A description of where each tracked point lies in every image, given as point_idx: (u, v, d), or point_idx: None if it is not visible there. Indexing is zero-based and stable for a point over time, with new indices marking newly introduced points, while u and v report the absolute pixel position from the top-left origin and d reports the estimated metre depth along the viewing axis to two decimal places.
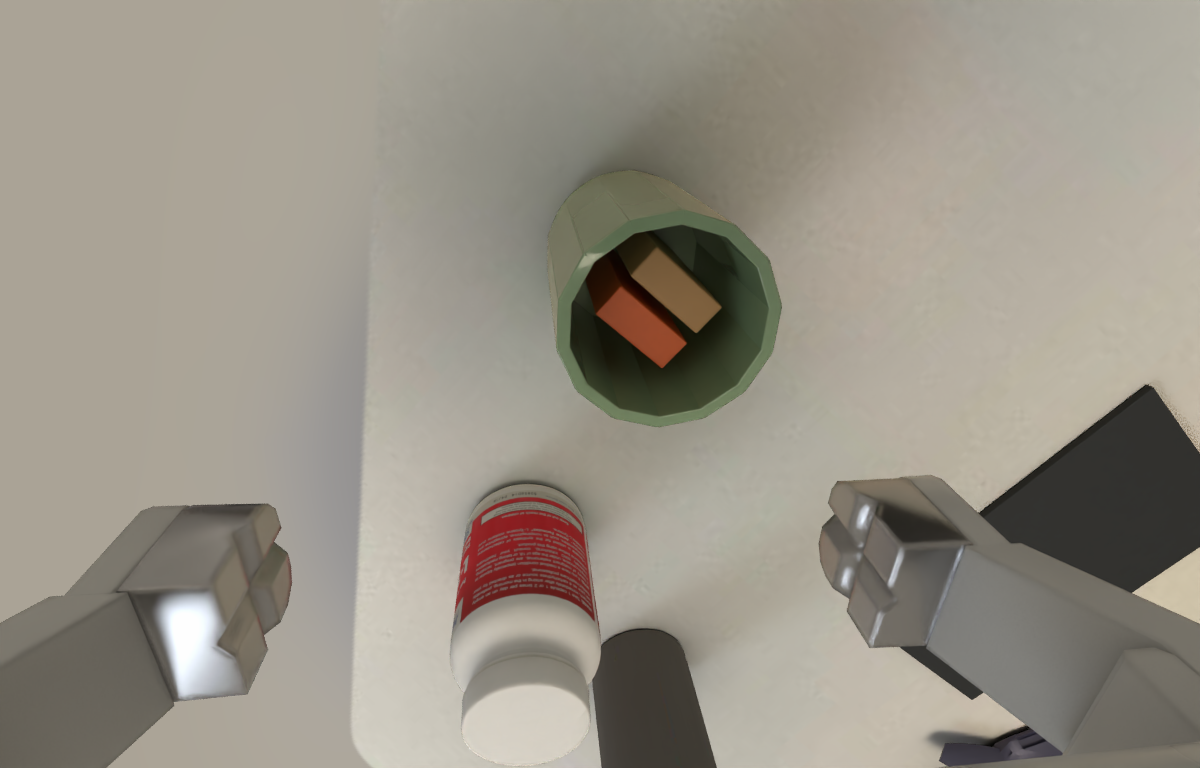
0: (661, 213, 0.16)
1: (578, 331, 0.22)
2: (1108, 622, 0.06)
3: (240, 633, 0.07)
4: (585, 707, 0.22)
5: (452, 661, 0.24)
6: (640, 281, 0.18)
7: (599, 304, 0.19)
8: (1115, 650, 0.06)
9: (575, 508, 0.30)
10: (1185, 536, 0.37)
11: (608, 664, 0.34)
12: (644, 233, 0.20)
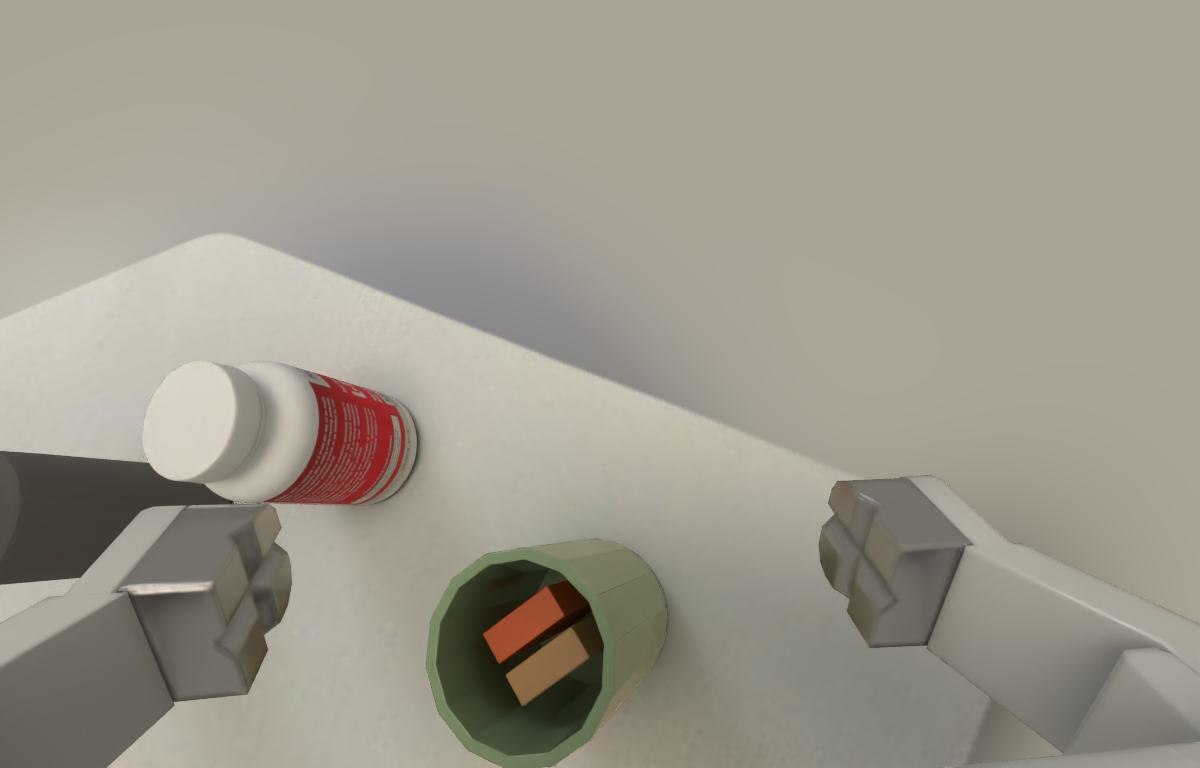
0: (614, 673, 0.19)
1: None
2: (1108, 622, 0.06)
3: (240, 633, 0.07)
4: (185, 479, 0.22)
5: (275, 365, 0.26)
6: (564, 634, 0.21)
7: (554, 590, 0.21)
8: (1115, 650, 0.06)
9: (375, 501, 0.32)
10: None
11: (205, 489, 0.34)
12: None
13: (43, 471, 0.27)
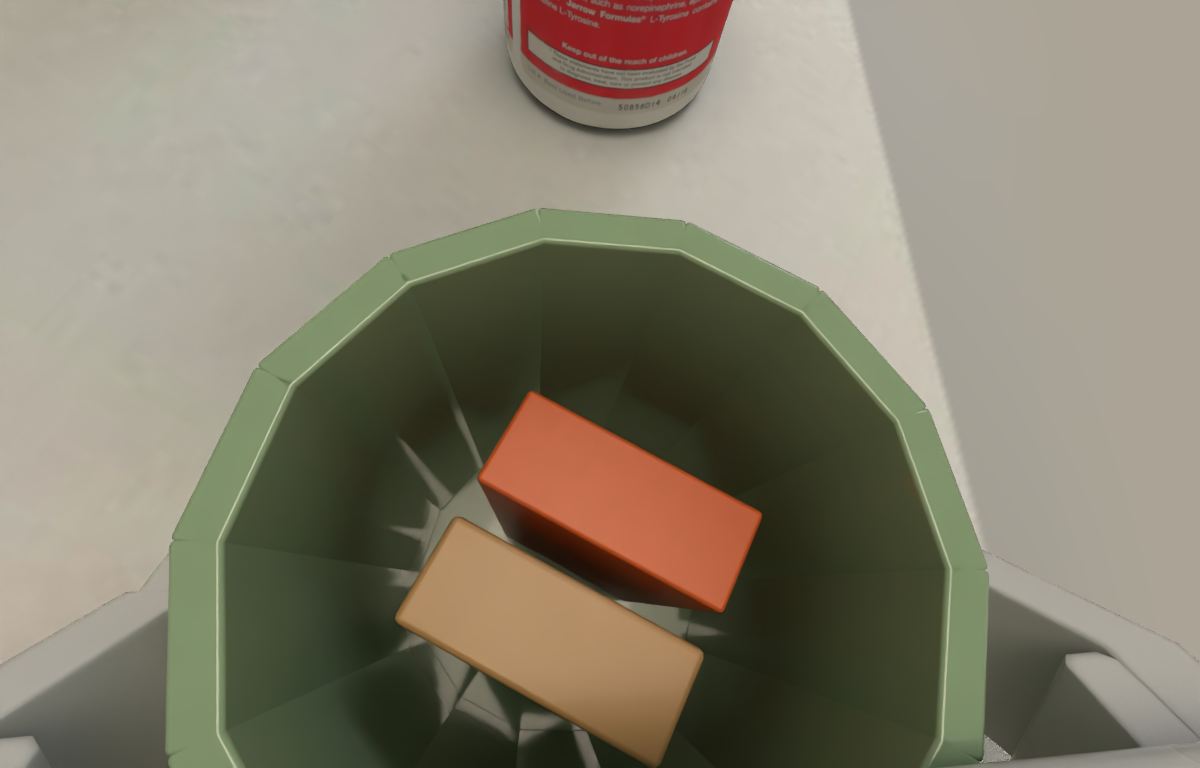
0: None
1: (682, 427, 0.10)
2: (1054, 626, 0.06)
3: None
4: None
5: None
6: (672, 642, 0.06)
7: None
8: (1061, 654, 0.06)
9: (538, 87, 0.17)
10: None
11: None
12: None
13: None
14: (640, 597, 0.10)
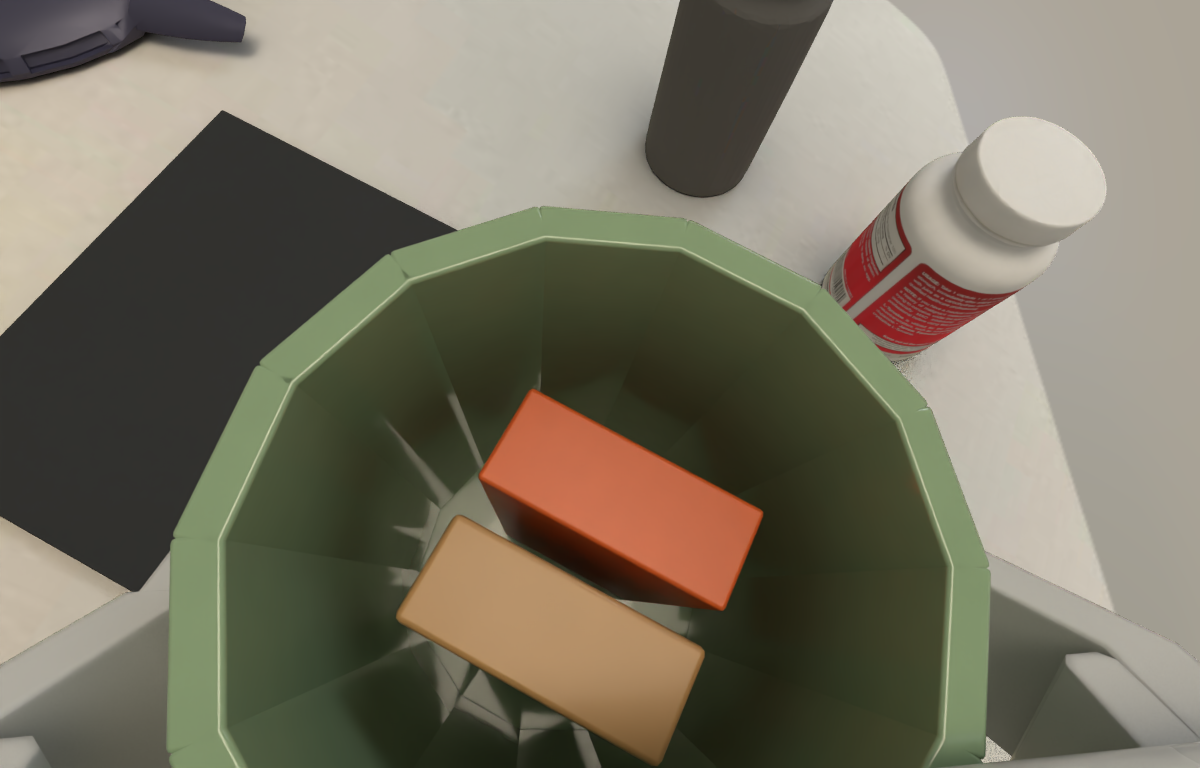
0: None
1: (683, 426, 0.10)
2: (1054, 626, 0.06)
3: None
4: (1000, 198, 0.20)
5: None
6: (673, 640, 0.06)
7: None
8: (1062, 655, 0.06)
9: None
10: None
11: (752, 158, 0.31)
12: None
13: None
14: (641, 596, 0.10)
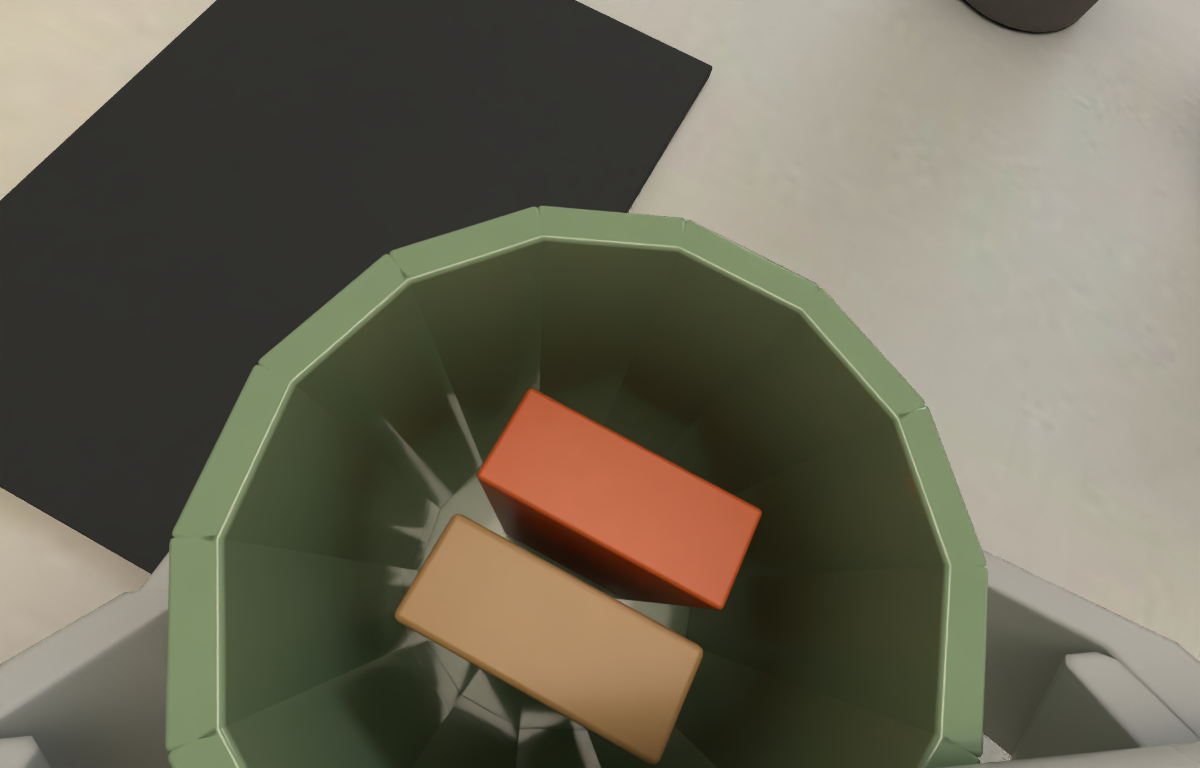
0: None
1: (682, 425, 0.10)
2: (1054, 626, 0.06)
3: None
4: None
5: None
6: (672, 639, 0.06)
7: None
8: (1060, 654, 0.06)
9: None
10: None
11: None
12: None
13: None
14: (640, 595, 0.10)
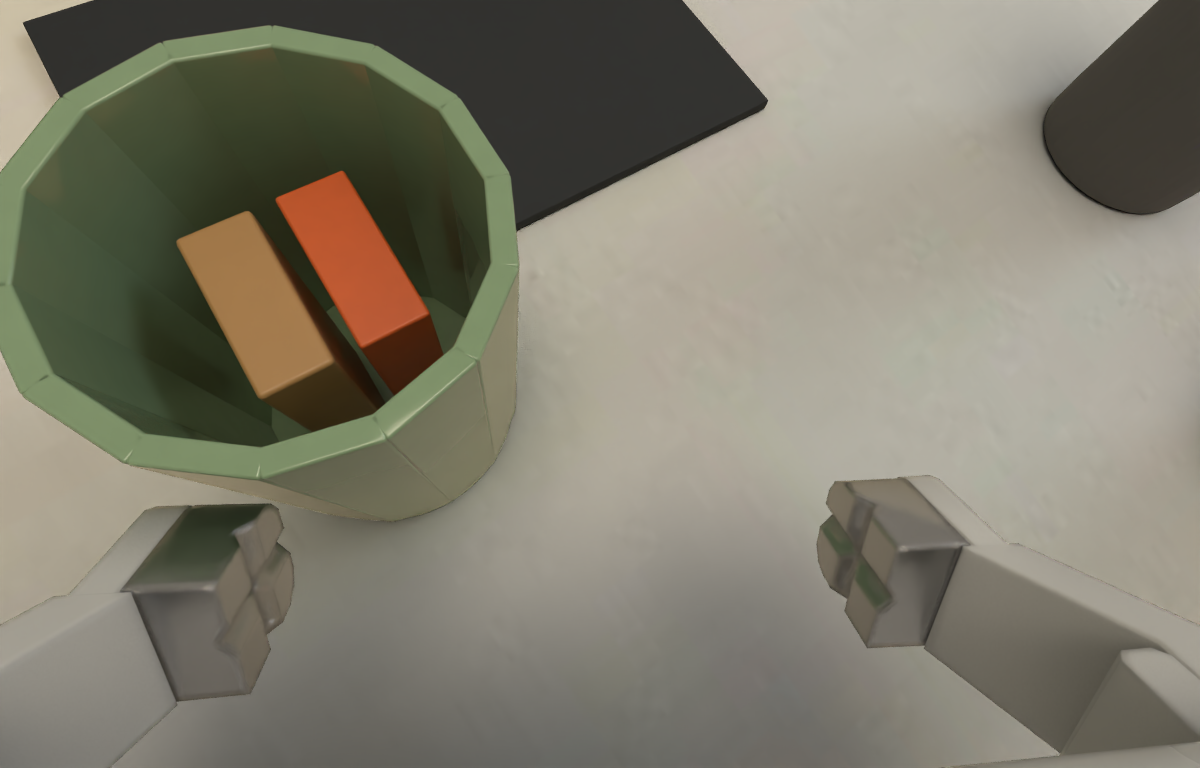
0: (182, 471, 0.07)
1: None
2: (1105, 622, 0.06)
3: (243, 633, 0.07)
4: None
5: None
6: (318, 344, 0.09)
7: (418, 328, 0.10)
8: (1113, 650, 0.06)
9: None
10: (146, 25, 0.20)
11: None
12: (304, 425, 0.11)
13: None
14: None
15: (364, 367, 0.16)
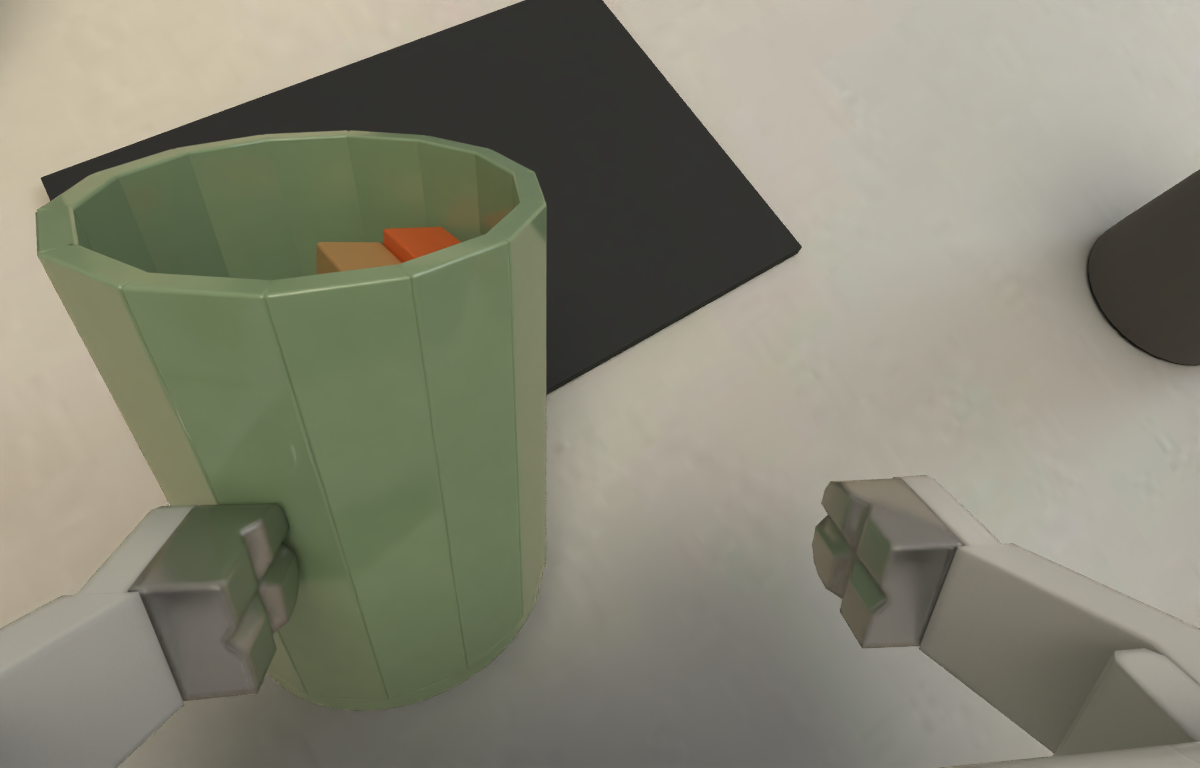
0: (179, 295, 0.06)
1: None
2: (1099, 623, 0.06)
3: (250, 633, 0.07)
4: None
5: None
6: None
7: None
8: (1107, 651, 0.06)
9: None
10: None
11: None
12: None
13: None
14: None
15: None
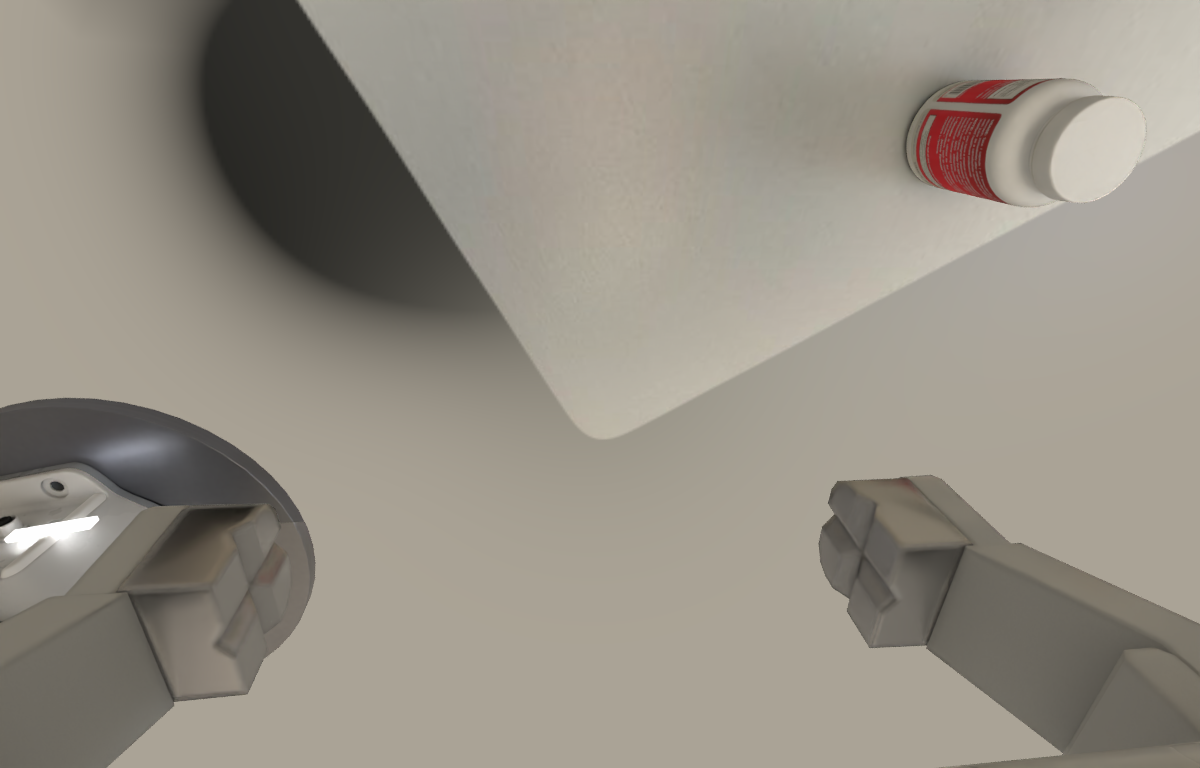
0: None
1: None
2: (1108, 622, 0.06)
3: (240, 633, 0.07)
4: (1067, 126, 0.27)
5: None
6: None
7: None
8: (1115, 650, 0.06)
9: (916, 121, 0.36)
10: None
11: None
12: None
13: None
14: None
15: None
